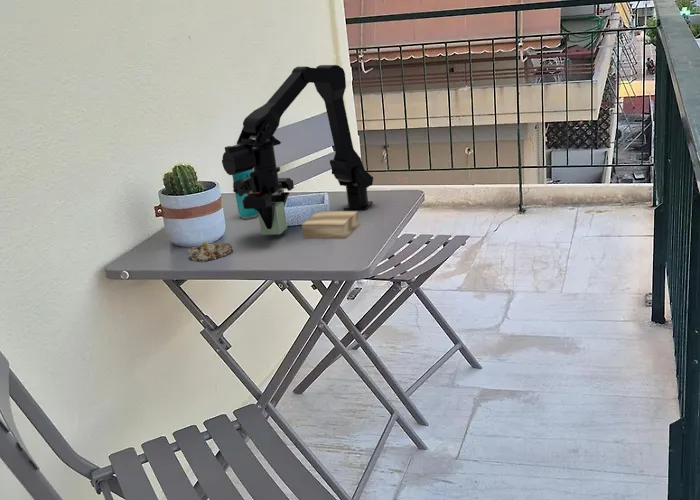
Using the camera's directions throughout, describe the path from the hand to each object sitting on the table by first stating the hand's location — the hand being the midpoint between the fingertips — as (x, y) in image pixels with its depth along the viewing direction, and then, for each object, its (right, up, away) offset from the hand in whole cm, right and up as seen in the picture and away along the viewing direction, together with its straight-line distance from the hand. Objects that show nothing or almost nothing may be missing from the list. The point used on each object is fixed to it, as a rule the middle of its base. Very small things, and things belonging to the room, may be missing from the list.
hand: (273, 225), depth 192 cm
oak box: (+15, -2, 0) cm, 15 cm away
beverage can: (-9, +3, +21) cm, 23 cm away
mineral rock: (-14, -8, -8) cm, 18 cm away
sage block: (0, -1, +1) cm, 2 cm away
